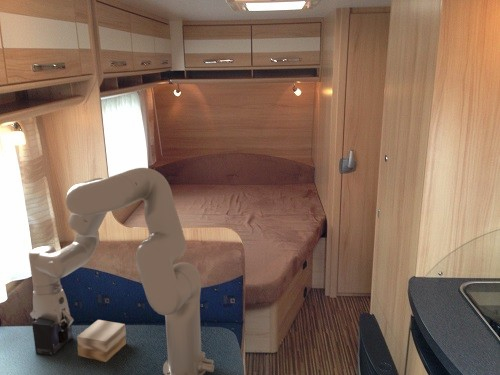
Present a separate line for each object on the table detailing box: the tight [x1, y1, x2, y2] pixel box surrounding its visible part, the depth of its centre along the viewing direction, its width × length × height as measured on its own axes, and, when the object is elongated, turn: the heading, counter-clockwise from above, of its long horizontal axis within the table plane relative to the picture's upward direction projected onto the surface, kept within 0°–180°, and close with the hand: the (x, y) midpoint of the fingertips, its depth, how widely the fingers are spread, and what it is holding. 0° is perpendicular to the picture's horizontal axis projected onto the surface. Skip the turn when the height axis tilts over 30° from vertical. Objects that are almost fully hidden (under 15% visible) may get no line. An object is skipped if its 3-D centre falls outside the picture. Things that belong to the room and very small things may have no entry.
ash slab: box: [76, 319, 127, 352], centre depth 134 cm, size 10×10×4 cm
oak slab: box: [76, 335, 127, 363], centre depth 135 cm, size 10×10×4 cm
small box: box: [31, 308, 74, 356], centre depth 136 cm, size 11×6×10 cm, turn 168°
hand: (54, 338), depth 137 cm, fingers closed on small box, 6 cm apart
